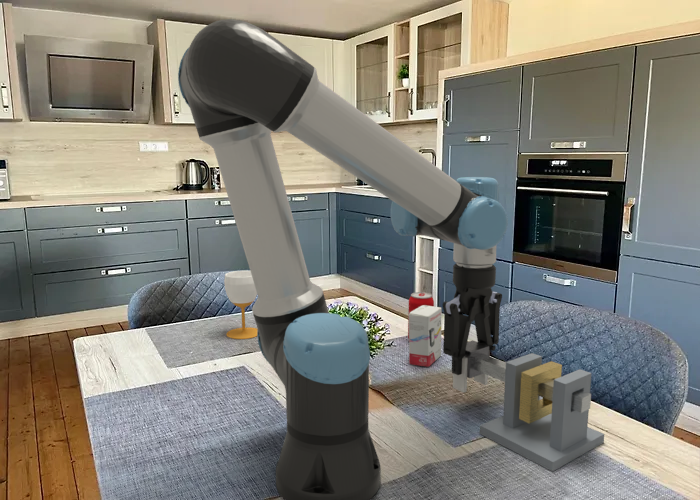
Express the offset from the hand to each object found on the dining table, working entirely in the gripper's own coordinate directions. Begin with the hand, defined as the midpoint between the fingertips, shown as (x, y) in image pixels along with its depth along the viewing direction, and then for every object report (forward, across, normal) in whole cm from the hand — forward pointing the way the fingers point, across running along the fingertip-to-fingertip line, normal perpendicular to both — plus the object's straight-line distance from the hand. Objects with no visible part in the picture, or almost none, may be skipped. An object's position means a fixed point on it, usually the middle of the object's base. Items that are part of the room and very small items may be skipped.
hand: (470, 385), depth 104 cm
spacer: (0, 0, -15) cm, 15 cm away
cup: (+4, -16, +64) cm, 66 cm away
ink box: (+4, +9, +22) cm, 24 cm away
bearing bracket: (+4, 0, -16) cm, 16 cm away
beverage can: (+4, +17, +32) cm, 36 cm away
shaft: (-3, 0, -10) cm, 11 cm away
